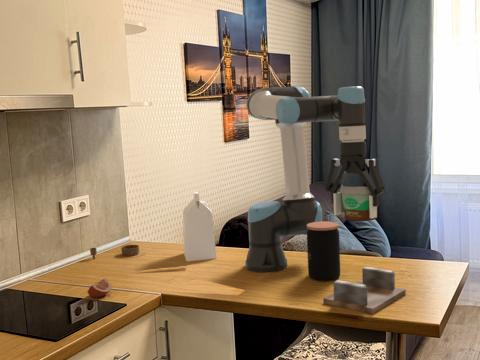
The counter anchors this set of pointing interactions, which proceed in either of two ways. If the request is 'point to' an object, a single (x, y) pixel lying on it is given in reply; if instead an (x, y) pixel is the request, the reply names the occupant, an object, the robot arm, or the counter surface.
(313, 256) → the coffee jar
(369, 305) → the holder
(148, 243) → the counter surface
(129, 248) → the place setting
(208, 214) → the milk
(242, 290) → the counter surface
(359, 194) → the food container
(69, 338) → the counter surface
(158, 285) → the counter surface
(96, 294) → the fruit slice
